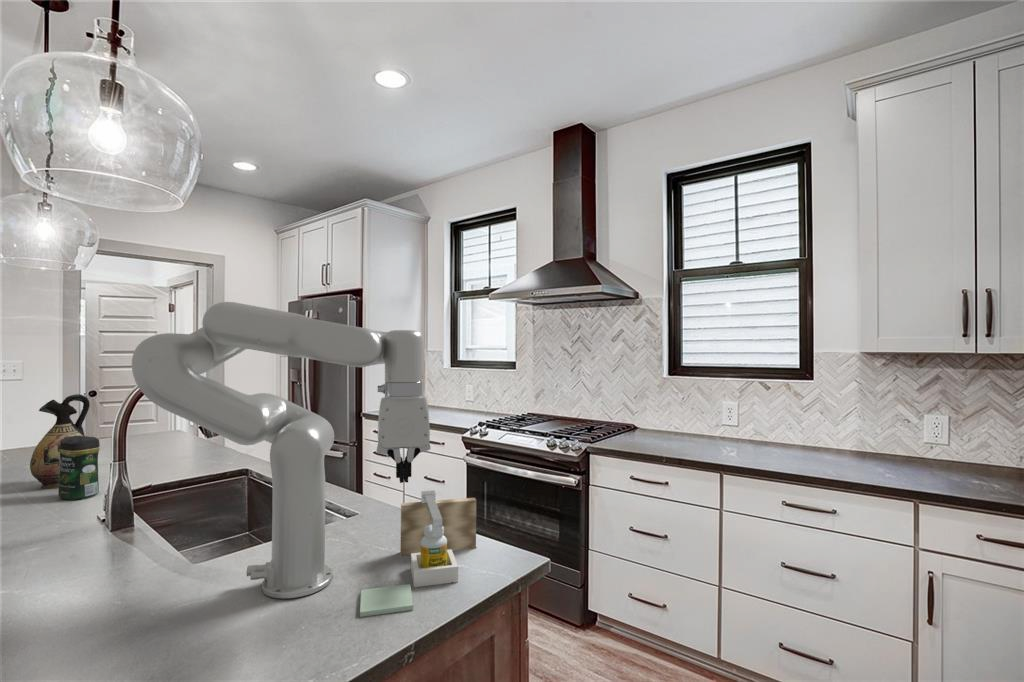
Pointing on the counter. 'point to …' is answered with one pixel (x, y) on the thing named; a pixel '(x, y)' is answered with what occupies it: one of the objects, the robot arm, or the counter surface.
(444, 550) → the supplement bottle
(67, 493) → the coffee jar
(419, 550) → the wooden block
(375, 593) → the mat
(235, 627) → the counter surface
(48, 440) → the ceramic jug
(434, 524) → the bar
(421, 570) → the hollow square frame
